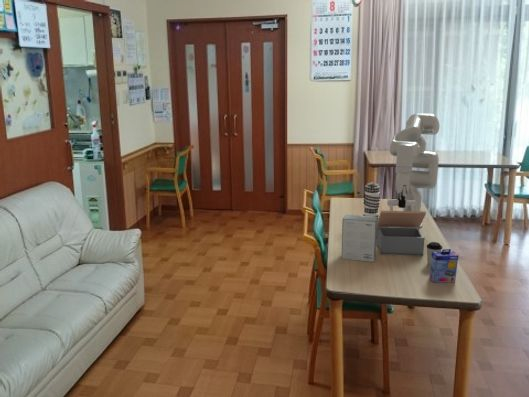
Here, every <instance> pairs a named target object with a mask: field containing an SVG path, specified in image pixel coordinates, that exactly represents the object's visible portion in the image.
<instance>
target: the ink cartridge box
mask: <svg viewBox="0 0 529 397" xmlns="http://www.w3.org/2000/svg"><path fill="white" fill-rule="evenodd" d="M458 262H459V255H458V253H456V252H455V251H453V250H452V249H451V248H449V249H447V248H446V249H444V248H442V250H441V251H434V252H432V255H431V266H429V279H430V280H431V281H432V282H433V283H455V282H456V278H457V269H458Z"/></svg>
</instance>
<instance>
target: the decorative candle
mask: <svg viewBox="0 0 529 397" xmlns="http://www.w3.org/2000/svg"><path fill="white" fill-rule="evenodd" d="M364 187H365V188H364V192H363V208H364V209H363V210H364V211H363V214H362V216H372V217H377V222H378V219H379V216H380V214H379V209H380V206H379V205H380V204H381V203H380V201H381V200H380V199H381V197H380V196H379V195H381V192H380V187H381V186H380V185H379V183H377V182H367V184H366V185H365V186H364Z"/></svg>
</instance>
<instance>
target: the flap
mask: <svg viewBox="0 0 529 397" xmlns="http://www.w3.org/2000/svg"><path fill="white" fill-rule="evenodd" d="M398 205H399V200H397V199H387V206H388V207H389V210H380V213H379V217H378V222H377V227H401V228H405V227H411V228H418V229H420V228H421V227H420V225H421V223H422V224H423V221H424V219H425V217H426V214H427V211H421V210H420V211H414V206H415V205H416V201H415V200H406V204H405V206H411V211H403V210H394V207H393V206H397V207H398ZM419 227H420V228H419Z"/></svg>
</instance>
